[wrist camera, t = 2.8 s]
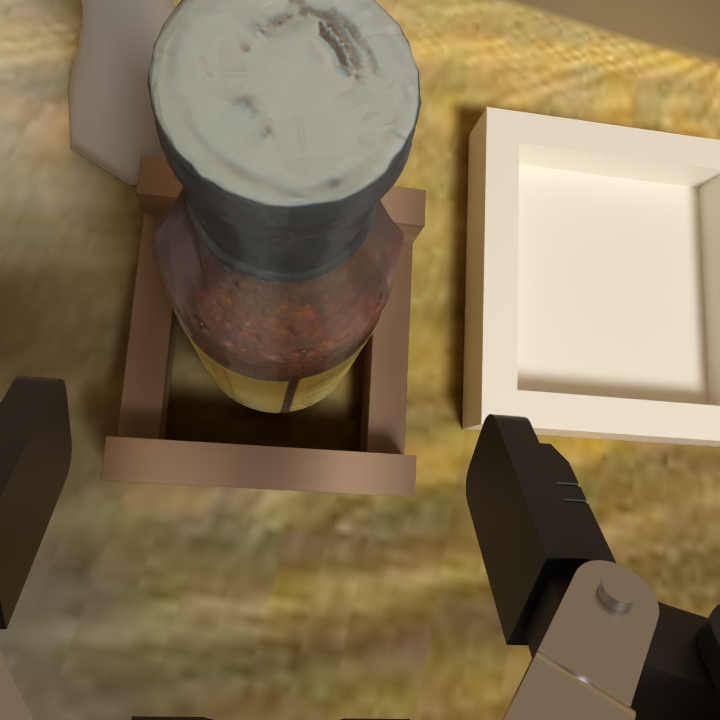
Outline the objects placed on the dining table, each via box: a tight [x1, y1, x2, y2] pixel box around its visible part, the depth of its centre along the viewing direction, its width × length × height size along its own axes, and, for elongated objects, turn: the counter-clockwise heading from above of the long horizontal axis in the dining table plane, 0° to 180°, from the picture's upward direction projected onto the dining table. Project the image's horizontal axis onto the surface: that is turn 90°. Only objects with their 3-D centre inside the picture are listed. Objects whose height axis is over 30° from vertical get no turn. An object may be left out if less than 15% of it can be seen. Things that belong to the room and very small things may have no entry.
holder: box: [101, 156, 426, 497], centre depth 27 cm, size 11×12×4 cm
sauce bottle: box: [148, 0, 421, 413], centre depth 20 cm, size 6×6×20 cm
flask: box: [68, 0, 176, 185], centre depth 25 cm, size 7×7×10 cm
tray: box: [462, 107, 720, 447], centre depth 31 cm, size 13×14×2 cm
